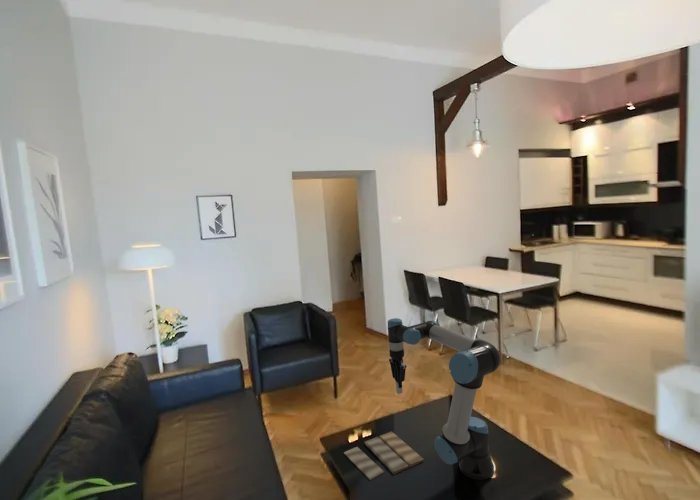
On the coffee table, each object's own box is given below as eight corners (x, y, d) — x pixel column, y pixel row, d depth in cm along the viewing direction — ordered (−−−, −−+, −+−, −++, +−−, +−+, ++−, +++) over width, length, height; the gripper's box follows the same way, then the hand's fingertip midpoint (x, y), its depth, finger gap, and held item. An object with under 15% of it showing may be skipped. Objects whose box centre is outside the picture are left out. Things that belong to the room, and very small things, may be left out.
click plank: (408, 468, 175) (408, 465, 175) (394, 474, 172) (393, 471, 172) (377, 438, 200) (377, 436, 200) (364, 443, 197) (364, 441, 197)
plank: (384, 474, 173) (384, 471, 173) (370, 481, 169) (369, 478, 169) (357, 448, 194) (357, 446, 194) (343, 454, 190) (343, 452, 190)
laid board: (423, 461, 179) (423, 458, 179) (410, 467, 176) (409, 464, 176) (391, 433, 204) (391, 431, 204) (379, 438, 201) (379, 435, 201)
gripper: (409, 350, 188) (412, 395, 190) (395, 343, 200) (398, 386, 202) (397, 354, 185) (400, 399, 187) (383, 346, 197) (386, 390, 199)
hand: (399, 392), depth 194 cm, fingers closed
